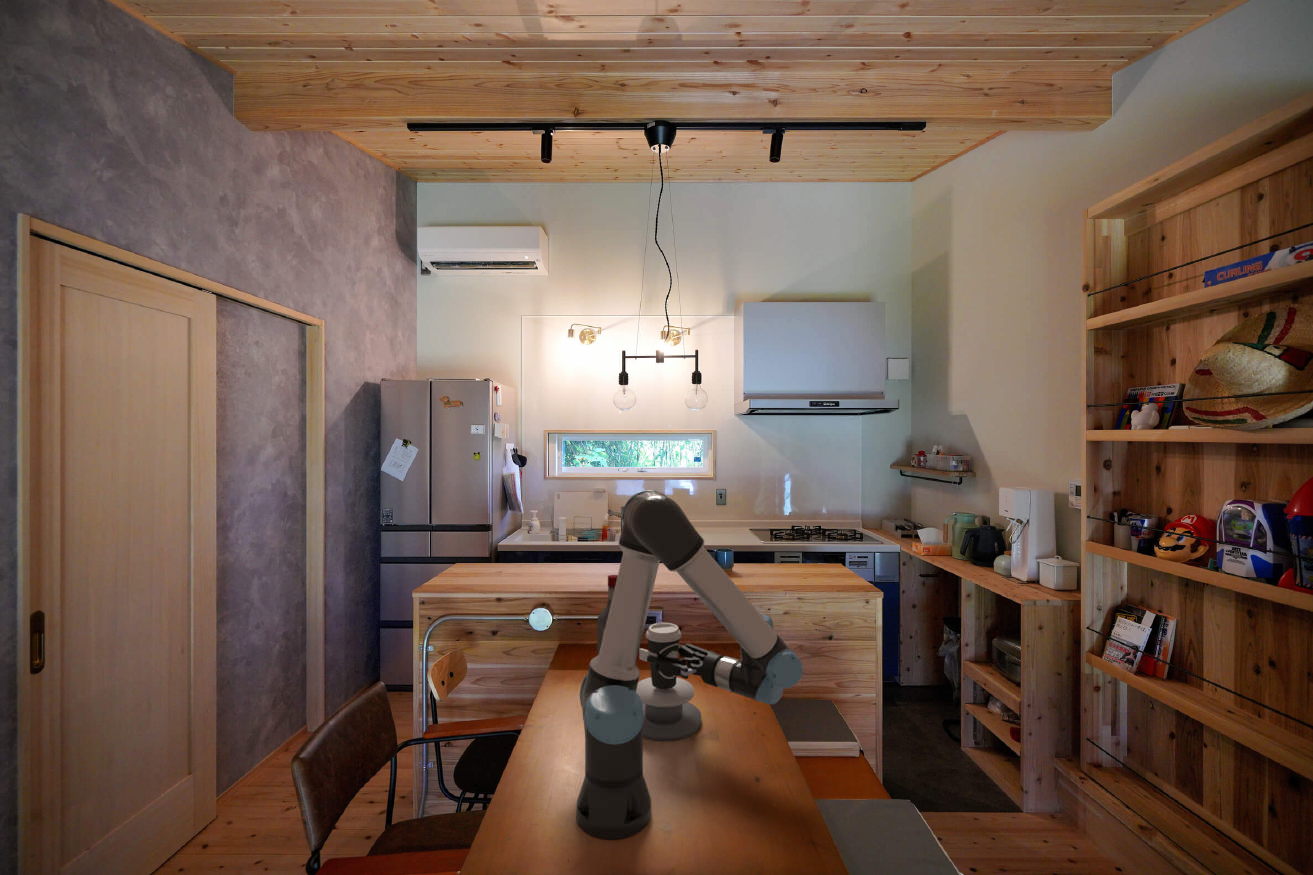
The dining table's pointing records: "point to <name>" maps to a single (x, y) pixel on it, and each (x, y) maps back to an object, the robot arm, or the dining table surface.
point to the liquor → (605, 612)
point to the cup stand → (668, 711)
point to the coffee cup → (663, 651)
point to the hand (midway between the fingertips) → (649, 649)
